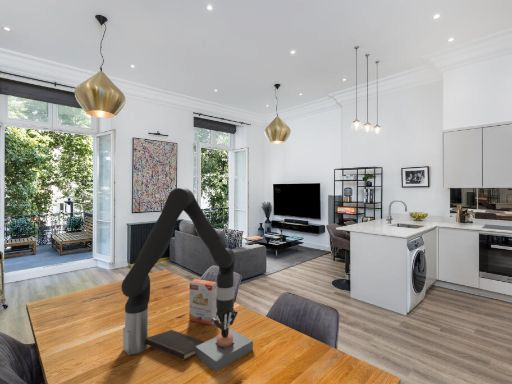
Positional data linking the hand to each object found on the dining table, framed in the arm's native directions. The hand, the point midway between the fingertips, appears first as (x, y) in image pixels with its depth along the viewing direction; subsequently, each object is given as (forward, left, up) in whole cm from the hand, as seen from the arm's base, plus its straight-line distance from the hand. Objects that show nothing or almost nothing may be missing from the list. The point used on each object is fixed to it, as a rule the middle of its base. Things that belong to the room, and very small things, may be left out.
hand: (224, 336), depth 117 cm
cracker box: (+10, +30, -7) cm, 33 cm away
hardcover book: (-13, +18, -7) cm, 23 cm away
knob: (0, 0, -7) cm, 7 cm away
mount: (0, 0, -7) cm, 7 cm away
